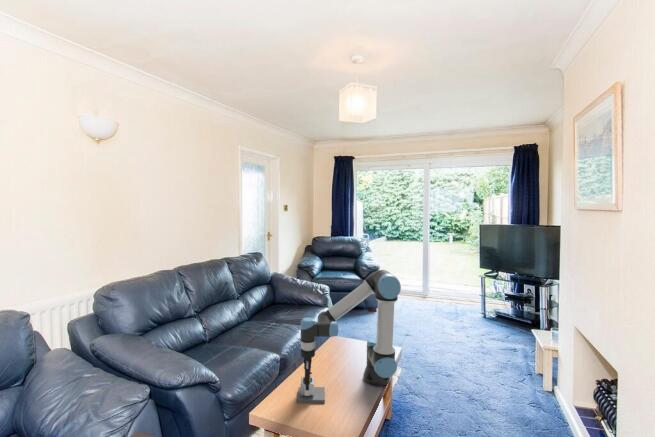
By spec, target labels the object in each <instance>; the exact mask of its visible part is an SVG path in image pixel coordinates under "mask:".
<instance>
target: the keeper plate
mask: <svg viewBox="0 0 655 437" xmlns="http://www.w3.org/2000/svg"><path fill="white" fill-rule="evenodd" d="M300 388H301V386H299V387H298V391H297V399H296V403H297V404H325V403H326V400H325V399H326V398H325V397H326V391H325V386H314V395H310V396H305V395H300Z"/></svg>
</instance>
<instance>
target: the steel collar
mask: <svg viewBox="0 0 655 437" xmlns="http://www.w3.org/2000/svg"><path fill="white" fill-rule="evenodd" d="M303 382H305V376H301V378H300V387H301V388H300V395H305V384H303ZM314 387H315V376H311V377H310V395H314Z"/></svg>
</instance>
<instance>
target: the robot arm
mask: <svg viewBox="0 0 655 437" xmlns="http://www.w3.org/2000/svg"><path fill="white" fill-rule="evenodd" d="M401 287H402V286H401V282H400V280H399V278H398V277H396V276H395V275H394V274H393V273H391V272H389V270H386V269H378V270H376V271H375V272H373V273H371V274H370V275H369V276H368V277H366V278H365V279H364V280H363V282H362V283H361V284H360V285H358V287H356V288H355V289H354V290H352V291H351V292H349V293H348V294H347V295H346V296H344V297H343V298H342V299H340V300H339V301H337V302H336V303H335V304H334V305H332V306H331V307H330V308H328V309H327V310H325V311H324V310H323V311H321V312H319V313H318V315H317V319H315V318H314V317H303V318H302V319H301V320H300V341H299V344H300V357H301V358H302V359H303V364H304V366H303V369H304V377H305V382H303V384H305V396H310V377H312V376H311V375H312V373H313V372H311V371H312V370H311V369H312V360H313V359H312V358H314V357H315V356H316V338H333V337H337V336H338V335H339V325H338V324H339V323H338V322H337V321H338V320H339V319H340V318H341V317H343V316H344V315H345V314H347V313H348V312H350V311H351V310H352V309H354V308H355V307H356V306H358V305H359V304H361V303H362V302H363V301H364V300H366V299H367V298H368V297H370V296H371V295H373V294H374V295H375V296H374V298H375V300H376V301H377V316H376V319H377V320H376V337H375V338H370V339H367V342H366V366H365V369H364V371H363V376H362V377H363V378H362V379H363V381H364V382H365V383H366V384H367V385H369V386H374V387H384V386H386V385H389V383H390V382H391V377H392V376H393V375H395V374H396V372H397V370H398V364H397V361H396V348H394V345H393V341H394V340H393V339H394V323H395V322H394V320H395V319H394V318H395V303H396V302H397V301H398V297H399V295H400V293H401V289H402V288H401ZM316 320H317V321H316Z"/></svg>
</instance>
